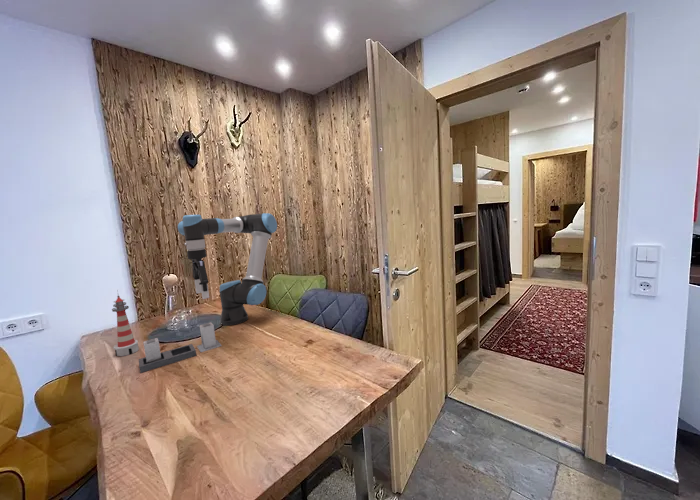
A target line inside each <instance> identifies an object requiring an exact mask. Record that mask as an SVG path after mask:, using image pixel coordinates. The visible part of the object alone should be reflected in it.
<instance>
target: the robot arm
mask: <svg viewBox="0 0 700 500" xmlns="http://www.w3.org/2000/svg"><path fill="white" fill-rule="evenodd" d="M277 222H278V221H277V220H276V218H275V216H274V215H273V214H272V213H269V212H268V213H266V212H263V213H254V214H253V213H252V214H246V215H241V216H234V217H233V218H218V217H213V218H212V217H211V218H202V215H201V214H186V215H185V214H184V215H183V217H182V220H181V221H180V222H178V224H177V231H178V233H179V234H181V235H182V236H184V238H185V239H184V240H185V242H184V246H186V247H185V248H186V250H187V251H186V253H187V259H188V260H191V263H192V277H193V280H194V287H195V294H201V298H202V300H205V299H209V298H210V292H209V284H208V283H209V278H208V274H207V271H206V265H205V264H206V263H205V261H204V260H203V259H204V258H206V257H207V256H208V255H207V250H206V240H205V236H206V235H207V236H208V235H218V234H223V233H235V234H250V235H251V236H252V241H251V247H250V251H249V258H248V264H247V269H246V273H245V277H243V278H242V279H241V280H240V279H238V280H237V279H235V280H231V281H227V282H224V283H221V284H220V285H219V297H220V305H221V314H220V317H219V318H220V319H219V324H220V323H222V324H223V325H222V326H234V325H238V324H242V323H244V322H246V321H248V320H249V314H248V312H247V310H246V308H245V306H244V305H249V306H257V305H260V304H261V303H262V302H263V301H265V299H266V296H267V287H266V285H265V284H264V280H263V279H262V278H263V273H264V272H263V271H264V264H265V262H266V261H265V259H266V255H267V254H266V253H267V249H268V242H269V239H271V238H272V234H274V233H275V232H277V229H278V223H277Z"/></svg>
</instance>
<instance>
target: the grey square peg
mask: <svg viewBox="0 0 700 500" xmlns="http://www.w3.org/2000/svg"><path fill="white" fill-rule="evenodd" d="M199 332H200V338H201V344H202V346H203V348H204V349H207V348H210V347H214V346H216V340H217V339H216V332H215V326H214V324H213V322H207V323H203V324H200V325H199Z"/></svg>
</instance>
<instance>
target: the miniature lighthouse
mask: <svg viewBox="0 0 700 500" xmlns="http://www.w3.org/2000/svg"><path fill="white" fill-rule="evenodd" d="M118 290H119V289H117V293H119V291H118ZM116 297H117V298H116V300H114V301H113V303H114V304H112V306H113V308H112V309H111V311H112V312H114V313H115V312H116V328H117V332H116V333H117V337H116V338H117V344H114V346H113V350H114V352H115V356H116V357H125V356H129V355H133V354H134V353H136V352H138V351H139V341H138V339H135V337H134V334H133V331H132V327H131V325H130V322H129V319H128V316H127V313H126V310H128V309H129V307H130V306H129V305H127V302H126V301H125V299H122V298H121V297H120V295H117V296H116Z"/></svg>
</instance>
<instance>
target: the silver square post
mask: <svg viewBox="0 0 700 500" xmlns="http://www.w3.org/2000/svg"><path fill="white" fill-rule="evenodd" d="M143 349H144V354H145V357H146V362H147V364H148V363H152V362H155V361H158V360H161V353H162V352H161V347H160V341H159V338H158V337H156V338H151V339H148V340H145V341H143Z"/></svg>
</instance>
